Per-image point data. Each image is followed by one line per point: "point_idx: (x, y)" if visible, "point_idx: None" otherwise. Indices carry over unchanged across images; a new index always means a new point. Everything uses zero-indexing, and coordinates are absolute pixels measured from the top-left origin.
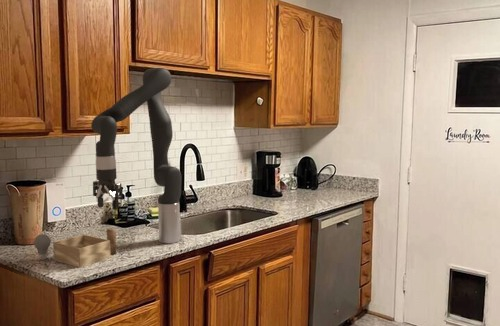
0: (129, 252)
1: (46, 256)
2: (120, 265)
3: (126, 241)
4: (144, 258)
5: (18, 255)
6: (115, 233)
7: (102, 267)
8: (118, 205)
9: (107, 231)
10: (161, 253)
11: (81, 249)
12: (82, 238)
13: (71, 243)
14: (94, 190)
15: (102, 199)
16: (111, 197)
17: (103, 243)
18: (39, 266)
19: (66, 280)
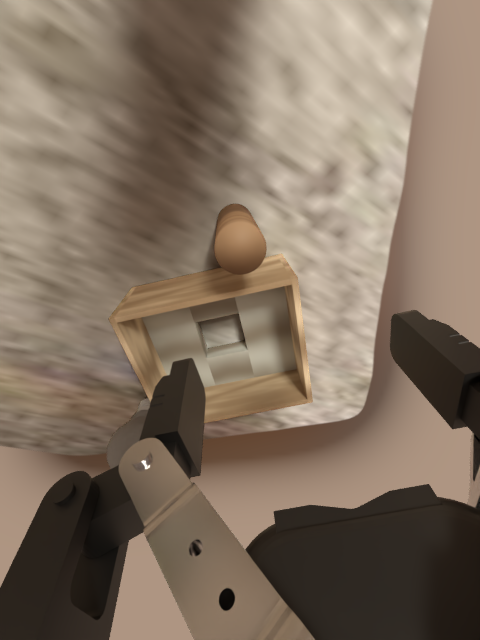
0: (272, 149)
1: (149, 402)
2: (382, 269)
3: (59, 25)
4: (398, 149)
5: (66, 432)
6: (257, 226)
7: (349, 318)
8: (456, 333)
9: (242, 272)
10: (416, 14)
11: (310, 393)
12: (124, 321)
13: (147, 361)
14: (101, 624)
15: (186, 422)
16: (470, 468)
17: (300, 309)
18: (208, 422)
19: (358, 411)
